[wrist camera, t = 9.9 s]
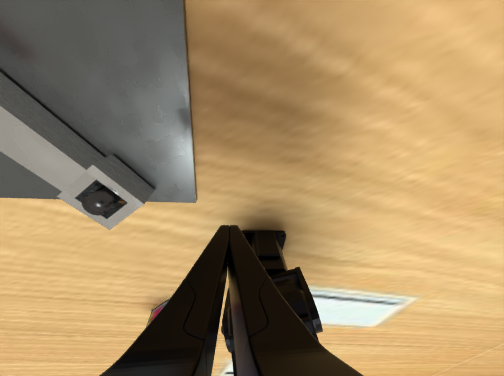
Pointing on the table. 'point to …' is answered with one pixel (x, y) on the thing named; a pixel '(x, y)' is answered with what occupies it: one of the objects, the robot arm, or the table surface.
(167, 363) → the robot arm
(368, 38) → the table surface
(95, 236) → the table surface
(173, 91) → the pintle plate
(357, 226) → the table surface
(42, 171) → the link
